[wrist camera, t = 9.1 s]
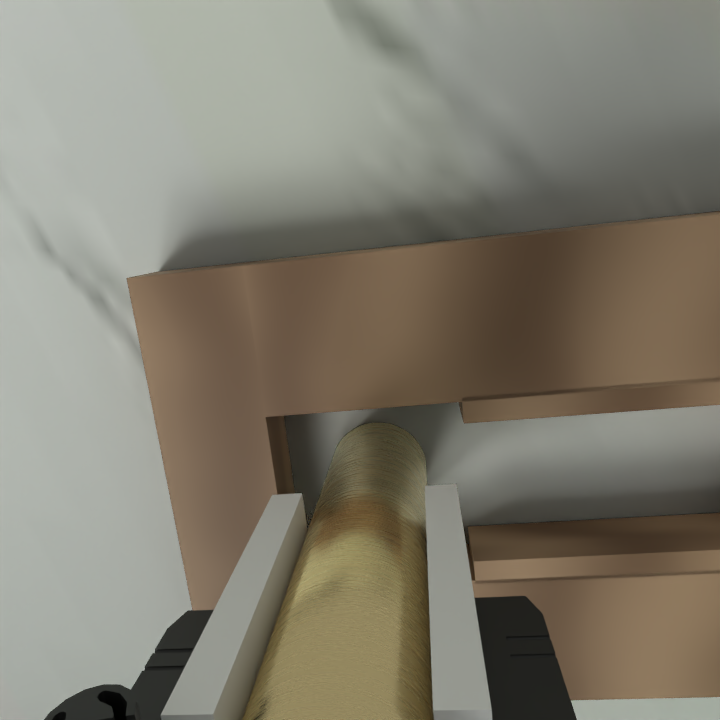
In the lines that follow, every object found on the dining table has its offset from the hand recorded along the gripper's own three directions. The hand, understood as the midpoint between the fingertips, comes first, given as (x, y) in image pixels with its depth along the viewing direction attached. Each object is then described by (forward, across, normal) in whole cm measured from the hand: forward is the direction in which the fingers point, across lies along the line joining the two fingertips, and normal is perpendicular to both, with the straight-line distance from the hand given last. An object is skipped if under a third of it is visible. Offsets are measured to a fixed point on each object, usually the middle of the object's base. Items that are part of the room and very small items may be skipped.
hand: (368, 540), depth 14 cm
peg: (+5, 0, 0) cm, 5 cm away
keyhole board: (+5, +4, 0) cm, 6 cm away
